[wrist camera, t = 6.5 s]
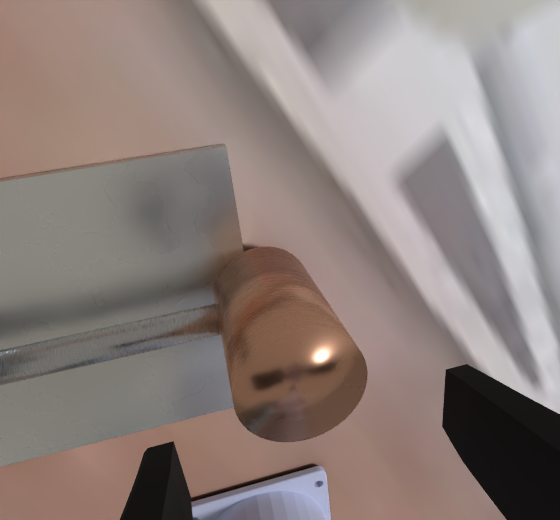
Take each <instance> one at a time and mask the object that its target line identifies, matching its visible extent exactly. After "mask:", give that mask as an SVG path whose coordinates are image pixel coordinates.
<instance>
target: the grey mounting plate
mask: <svg viewBox="0 0 560 520" xmlns="http://www.w3.org/2000/svg"><path fill="white" fill-rule="evenodd" d="M242 252H244V250H243V244H242V238H241V232H240V226H239V220H238V214H237V208H236V202H235V196H234V190H233V184H232V178H231V172H230V166H229V160H228V154H227V148H226V145H225V144H219V145H212V146H206V147H200V148H193V149H187V150H180V151H174V152H168V153H161V154H155V155H148V156H142V157H136V158H129V159H123V160H117V161H110V162H104V163H97V164H91V165H85V166H78V167H72V168H66V169H59V170H53V171H46V172H40V173H34V174H27V175H21V176H15V177H8V178H2V179H0V350H4V349H8V348H13V347H18V346H22V345H27V344H32V343H36V342H41V341H45V340H50V339H55V338H59V337H64V336H69V335H73V334H78V333H83V332H87V331H92V330H96V329H101V328H106V327H110V326H115V325H120V324H124V323H129V322H134V321H138V320H143V319H147V318H152V317H157V316H161V315H166V314H171V313H175V312H180V311H185V310H189V309H194V308H198V307H203V306H208V305H212V304H215V298H214V289H215V284H216V281H217V278H218V276H219V274H220V272H221V271H222V269H223V268H224V266H225V265H226V264H227V263H228V262H229V261H230V260H231V259H232V258H234V257H235V256H237V255H238V254H240V253H242ZM232 407H234V404H233V399H232V393H231V388H230V382H229V377H228V371H227V366H226V360H225V354H224V349H223V343H222V338H221V335H220V336H215V337H211V338H206V339H202V340H198V341H193V342H189V343H184V344H180V345H176V346H171V347H167V348H163V349H158V350H154V351H149V352H145V353H141V354H136V355H132V356H127V357H123V358H119V359H114V360H110V361H105V362H101V363H97V364H92V365H88V366H83V367H79V368H75V369H70V370H66V371H62V372H57V373H53V374H48V375H44V376H40V377H35V378H31V379H26V380H22V381H18V382H13V383H9V384H4V385H0V467H2V466H6V465H9V464H13V463H17V462H21V461H25V460H29V459H33V458H37V457H41V456H45V455H49V454H52V453H56V452H60V451H64V450H68V449H72V448H76V447H80V446H84V445H88V444H92V443H95V442H99V441H103V440H107V439H111V438H115V437H119V436H123V435H127V434H131V433H135V432H139V431H142V430H146V429H150V428H154V427H158V426H162V425H166V424H170V423H174V422H178V421H182V420H185V419H189V418H193V417H197V416H201V415H205V414H209V413H213V412H217V411H221V410H225V409H228V408H232Z"/></svg>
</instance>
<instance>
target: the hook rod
mask: <svg viewBox="0 0 560 520" xmlns="http://www.w3.org/2000/svg"><path fill="white" fill-rule="evenodd" d="M214 298H215V304H212V305H208V306H203V307H198V308H194V309H189V310H185V311H180V312H175V313H171V314H166V315H161V316H157V317H152V318H147V319H143V320H138V321H134V322H129V323H124V324H120V325H115V326H110V327H106V328H101V329H96V330H92V331H87V332H83V333H78V334H73V335H69V336H64V337H59V338H55V339H50V340H45V341H41V342H36V343H32V344H27V345H22V346H18V347H13V348H8V349H4V350H0V385H4V384H9V383H13V382H18V381H22V380H26V379H31V378H35V377H40V376H44V375H48V374H53V373H57V372H62V371H66V370H70V369H75V368H79V367H83V366H88V365H92V364H97V363H101V362H105V361H110V360H114V359H119V358H123V357H127V356H132V355H136V354H141V353H145V352H149V351H154V350H158V349H163V348H167V347H171V346H176V345H180V344H184V343H189V342H193V341H198V340H202V339H206V338H211V337H215V336H220V335H221V338H222V343H223V349H224V354H225V360H226V366H227V371H228V377H229V382H230V388H231V393H232V399H233V404H234V409H235V412H236V414H237V416H238V418H239V420H240V421H241V423H242V424H243V425H244V426H245V427H246V428H247V429H248V430H249V431H250V432H252V433H253V434H255V435H257V436H259V437H261V438H264V439H267V440H271V441H276V442H295V441H302V440H306V439H310V438H313V437H316V436H319V435H321V434H323V433H325V432H327V431H329V430H331V429H332V428H334V427H335V426H337V425H338V424H340V423H341V422H342V421H343V420H344V419H346V418H347V417H348V416H349V415H350V414H351V412H352V411H353V410H354V409H355V407H356V406H357V404H358V403H359V401H360V400H361V397H362V395H363V393H364V390H365V387H366V383H367V366H366V362H365V359H364V357H363V355H362V353H361V351H360V350H359V348H358V347H357V345H356V344H355V342H354V341H353V339H352V338H351V336H350V335H349V333H348V332H347V330H346V329H345V327H344V326H343V324H342V323H341V321H340V320H339V318H338V317H337V315H336V314H335V312H334V311H333V309H332V308H331V306H330V305H329V303H328V302H327V300H326V299H325V297H324V296H323V294H322V293H321V292H320V290H319V289H318V287H317V286H316V284H315V283H314V281H313V280H312V278H311V277H310V275H309V274H308V272H307V271H306V269H305V268H304V266H303V265H302V263H301V262H300V261H299V260H298V259H297V258H296V257H295V256H294V255H292V254H291V253H289V252H287V251H285V250H283V249H279V248H275V247H257V248H253V249H249V250H247V251H244V252H242V253H240V254H238V255H237V256H235V257H234V258H232V259H231V260H230V261H229V262H228V263H227V264H226V265H225V266H224V268H223V269H222V271H221V272H220V274H219V276H218V278H217V281H216V284H215V289H214Z"/></svg>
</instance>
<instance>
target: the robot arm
mask: <svg viewBox="0 0 560 520" xmlns="http://www.w3.org/2000/svg"><path fill="white" fill-rule="evenodd" d="M442 427H443V428H444V430H445V432H446V434H447V435H448V437H449V439H450V441H451V442H452V444H453V446H454V448H455V449H456V451H457V452H458V454H459V456H460V457H461V459H462V461H463V462H464V464H465V465H466V466H467V468H468V469H469V470H470V472H471V473H472V475H473V476H474V477H475V479H476V480H477V481H478V482H479V484H480V485H481V486H482V488H483V489H484V490H485V492H486V493H487V494H488V496H489V497H490V498H491V500H492V501H493V502H494V504H495V505H496V506H497V508H498V509H499V510H500V511H501V513H502V514H503V515H504V517H505V518H506V519H507V520H560V414H558V413H556V412H554V411H552V410H550V409H548V408H546V407H545V406H543V405H541V404H539V403H537V402H535V401H533V400H531V399H530V398H528V397H526V396H524V395H522V394H520V393H519V392H517V391H515V390H513V389H511V388H510V387H508V386H506V385H504V384H502V383H500V382H499V381H497V380H495V379H493V378H491V377H490V376H488V375H486V374H484V373H482V372H480V371H479V370H477V369H475V368H473V367H471V366H469V365H467V364H466V365H462V366H458V367H454V368H450V369H447V370H446V376H445V392H444V408H443V424H442ZM120 520H331V517H330V507H329V497H328V486H327V476H326V473H325V470H324V468H323V467H321V466H315V467H312V468H308V469H305V470H301V471H298V472H294V473H291V474H287V475H284V476H280V477H277V478H273V479H270V480H266V481H263V482H259V483H256V484H252V485H249V486H245V487H242V488H238V489H235V490H231V491H228V492H225V493H221V494H218V495H214V496H211V497H207V498H204V499H200V500H197V501H193V502H191V496H190V493H189V490H188V487H187V483H186V480H185V477H184V474H183V471H182V467H181V464H180V461H179V458H178V454H177V451H176V448H175V445H174V441H173V442H169V443H166V444H162V445H158V446H154V447H150V448H148V449H147V450H146V451H145V452H144V455H143V458H142V461H141V464H140V467H139V470H138V473H137V476H136V479H135V482H134V485H133V487H132V490H131V493H130V495H129V498H128V500H127V503H126V506H125V508H124V511H123V513H122V515H121V518H120Z"/></svg>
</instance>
